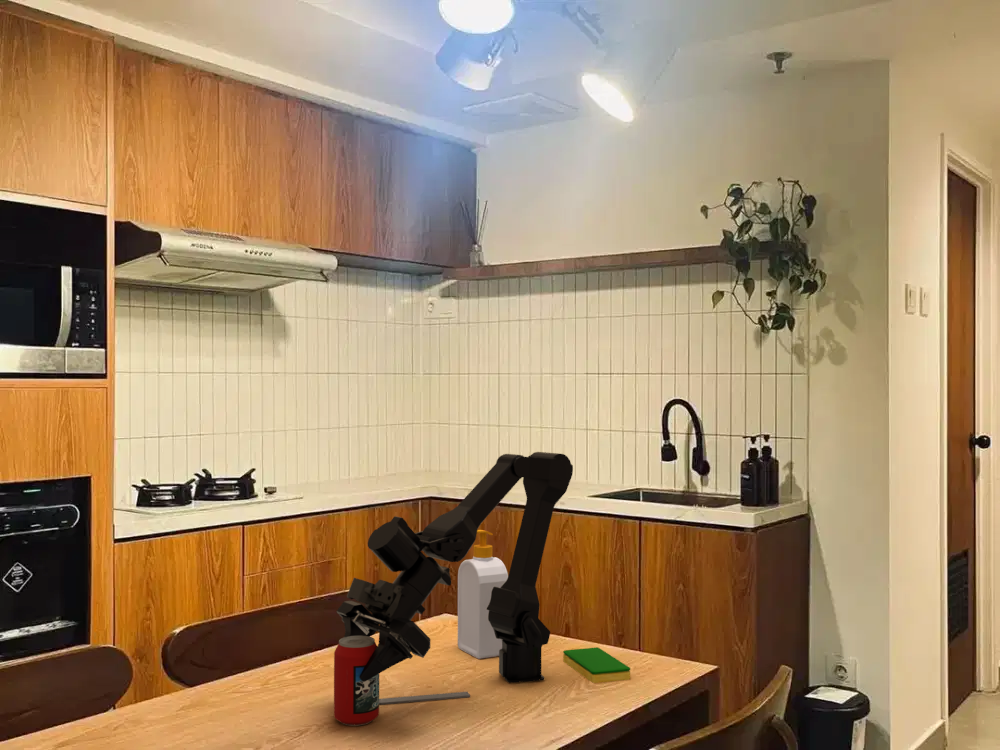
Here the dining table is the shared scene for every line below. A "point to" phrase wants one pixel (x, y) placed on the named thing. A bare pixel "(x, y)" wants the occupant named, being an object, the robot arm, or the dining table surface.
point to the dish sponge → (596, 665)
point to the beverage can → (354, 682)
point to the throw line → (423, 698)
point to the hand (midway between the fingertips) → (348, 674)
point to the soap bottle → (478, 600)
